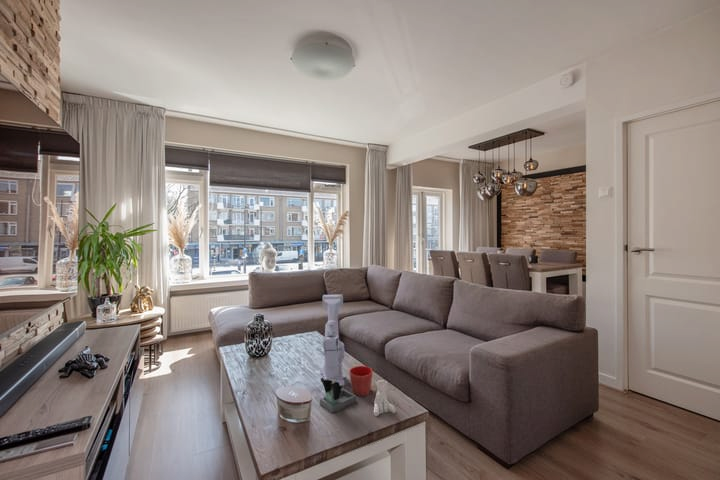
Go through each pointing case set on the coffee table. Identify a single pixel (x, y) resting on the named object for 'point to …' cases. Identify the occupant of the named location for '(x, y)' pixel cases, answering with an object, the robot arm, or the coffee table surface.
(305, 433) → the coffee table surface
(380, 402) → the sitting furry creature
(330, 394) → the teal block
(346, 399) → the tray
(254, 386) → the coffee table surface
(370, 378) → the flower pot
